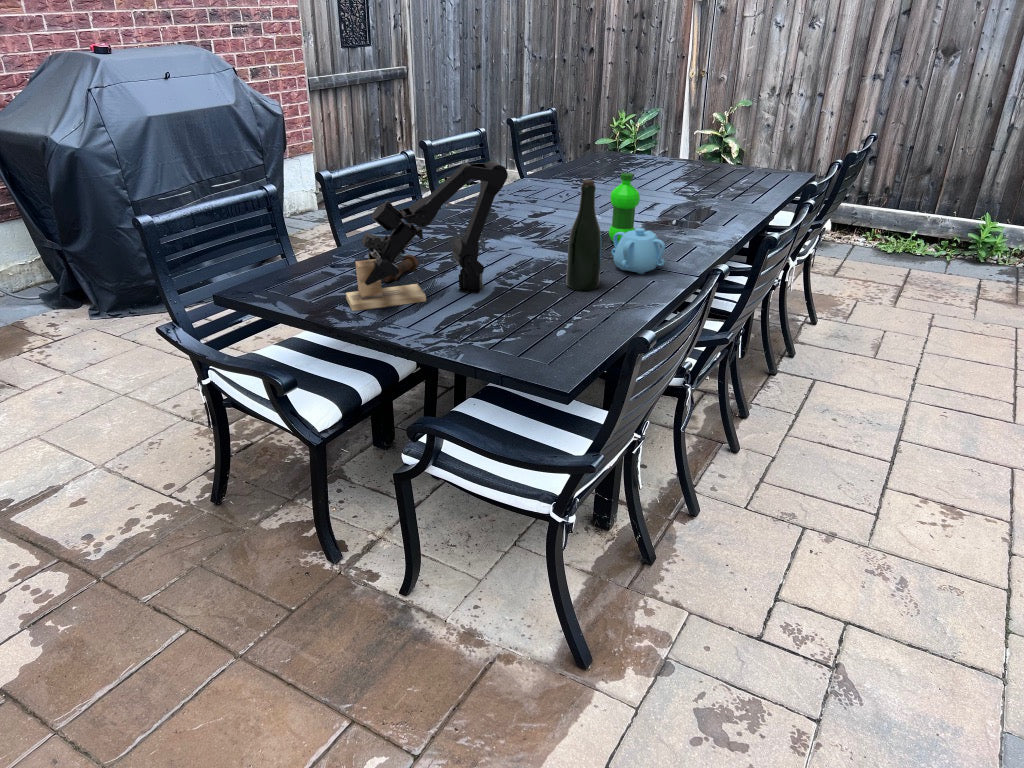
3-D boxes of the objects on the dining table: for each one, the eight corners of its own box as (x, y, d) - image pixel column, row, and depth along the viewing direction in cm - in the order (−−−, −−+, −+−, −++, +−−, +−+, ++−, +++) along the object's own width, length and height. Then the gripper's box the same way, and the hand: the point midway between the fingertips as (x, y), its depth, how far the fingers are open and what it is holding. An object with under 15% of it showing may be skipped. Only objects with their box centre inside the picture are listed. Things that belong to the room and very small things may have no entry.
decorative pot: (608, 260, 256) (611, 221, 250) (654, 260, 257) (658, 221, 250) (616, 277, 242) (619, 236, 235) (665, 276, 243) (669, 236, 236)
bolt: (383, 288, 236) (410, 272, 248) (394, 283, 233) (421, 267, 244) (374, 272, 235) (402, 256, 246) (385, 266, 232) (412, 251, 243)
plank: (417, 289, 230) (417, 283, 229) (426, 301, 222) (425, 294, 221) (346, 298, 223) (345, 292, 222) (352, 311, 214) (351, 304, 214)
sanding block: (378, 290, 223) (375, 258, 218) (382, 296, 219) (379, 264, 214) (358, 293, 221) (355, 261, 216) (361, 299, 217) (358, 266, 212)
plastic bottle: (632, 248, 268) (639, 178, 256) (604, 245, 270) (609, 176, 259) (637, 240, 276) (644, 172, 264) (610, 237, 279) (615, 170, 267)
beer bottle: (603, 290, 231) (610, 184, 215) (570, 292, 229) (575, 185, 213) (594, 279, 240) (601, 175, 224) (562, 280, 238) (567, 176, 222)
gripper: (370, 214, 218) (337, 255, 220) (384, 232, 203) (348, 275, 205) (398, 237, 225) (365, 276, 226) (414, 256, 209) (379, 298, 211)
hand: (364, 281), depth 217 cm, fingers closed on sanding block, 5 cm apart
